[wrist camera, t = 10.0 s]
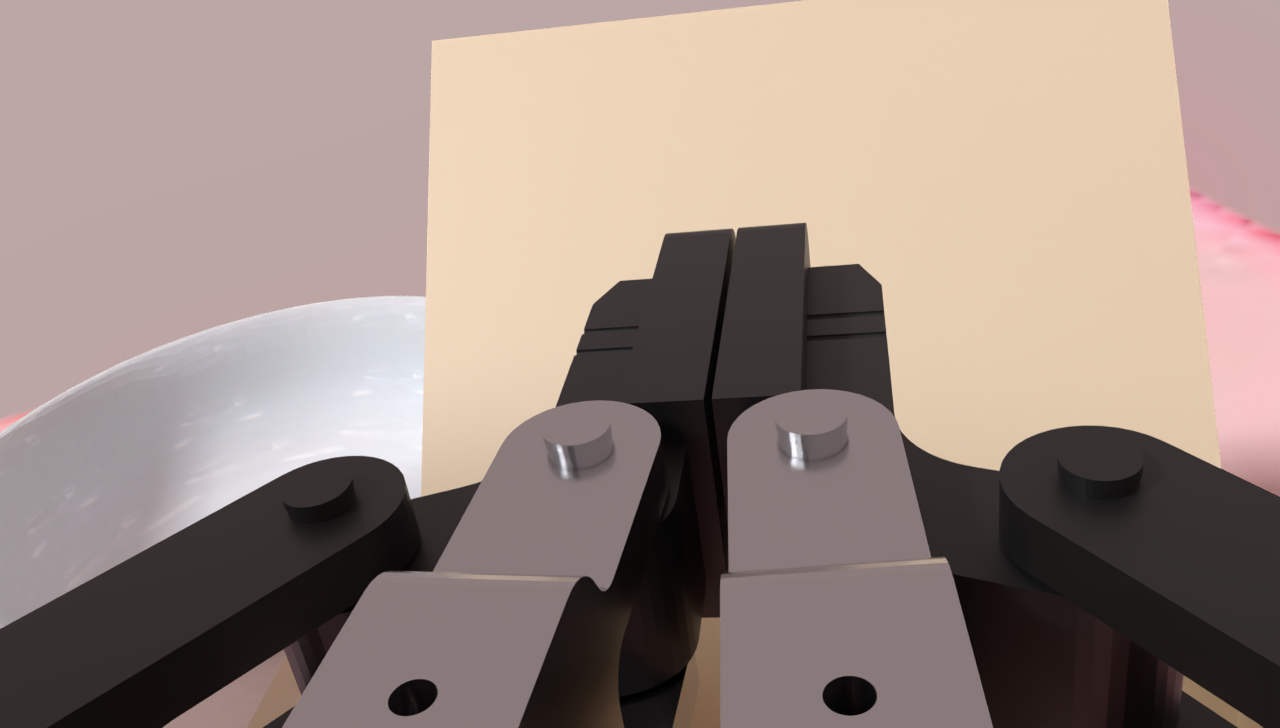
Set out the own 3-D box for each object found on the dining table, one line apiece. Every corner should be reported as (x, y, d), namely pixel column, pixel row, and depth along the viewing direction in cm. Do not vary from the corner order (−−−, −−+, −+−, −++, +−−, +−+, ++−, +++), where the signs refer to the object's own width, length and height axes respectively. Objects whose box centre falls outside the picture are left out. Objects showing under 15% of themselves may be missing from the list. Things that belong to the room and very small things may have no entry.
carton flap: (1163, -39, 21) (1155, -22, 22) (432, 40, 24) (442, 54, 25) (1226, 514, 19) (1216, 517, 20) (419, 536, 22) (431, 538, 23)
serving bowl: (478, 384, 53) (444, 243, 49) (726, 650, 36) (701, 463, 33) (-23, 571, 45) (-102, 420, 42) (-3, 1015, 29) (-131, 823, 25)
